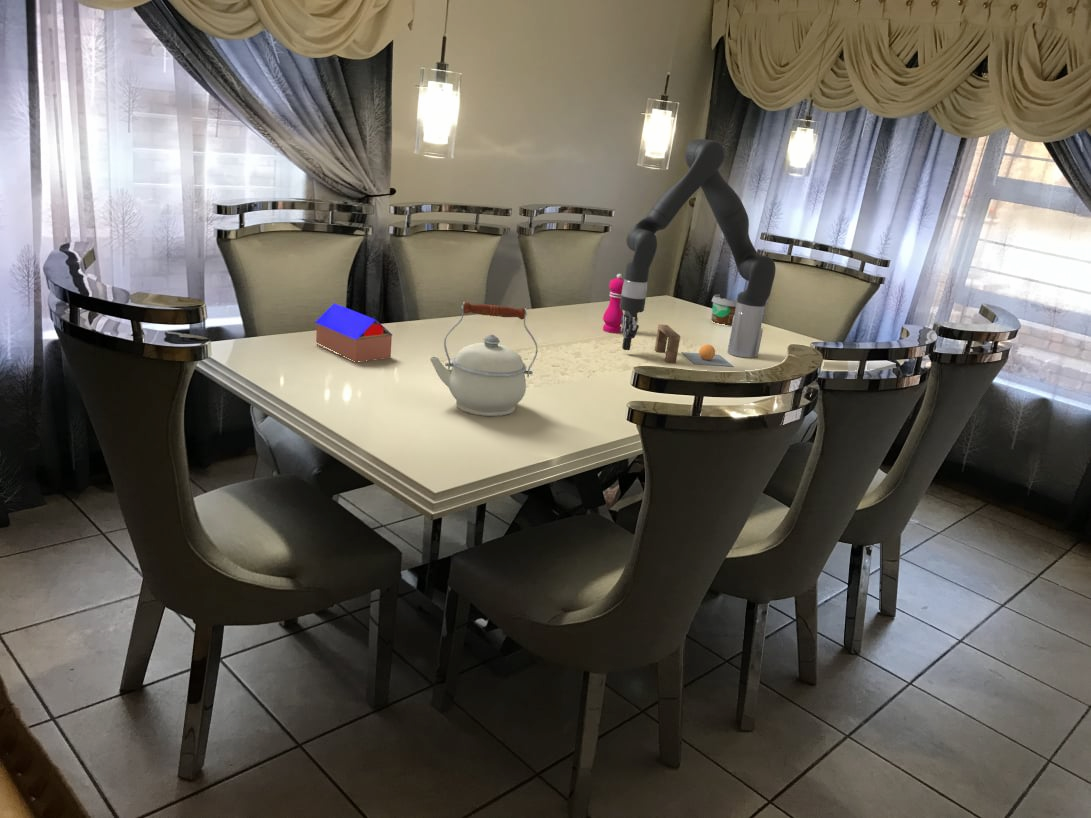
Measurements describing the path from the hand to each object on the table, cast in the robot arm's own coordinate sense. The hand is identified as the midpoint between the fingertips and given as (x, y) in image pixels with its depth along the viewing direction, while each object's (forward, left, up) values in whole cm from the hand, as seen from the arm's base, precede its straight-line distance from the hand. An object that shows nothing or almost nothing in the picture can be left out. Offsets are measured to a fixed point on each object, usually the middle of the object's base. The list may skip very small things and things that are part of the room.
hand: (625, 349), depth 266 cm
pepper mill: (-2, -30, -2) cm, 30 cm away
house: (+82, +17, -2) cm, 84 cm away
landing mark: (-27, 0, -2) cm, 27 cm away
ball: (-26, 0, +1) cm, 26 cm away
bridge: (-13, 0, -2) cm, 13 cm away
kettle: (+50, +58, -2) cm, 77 cm away
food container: (-50, -56, -2) cm, 75 cm away
